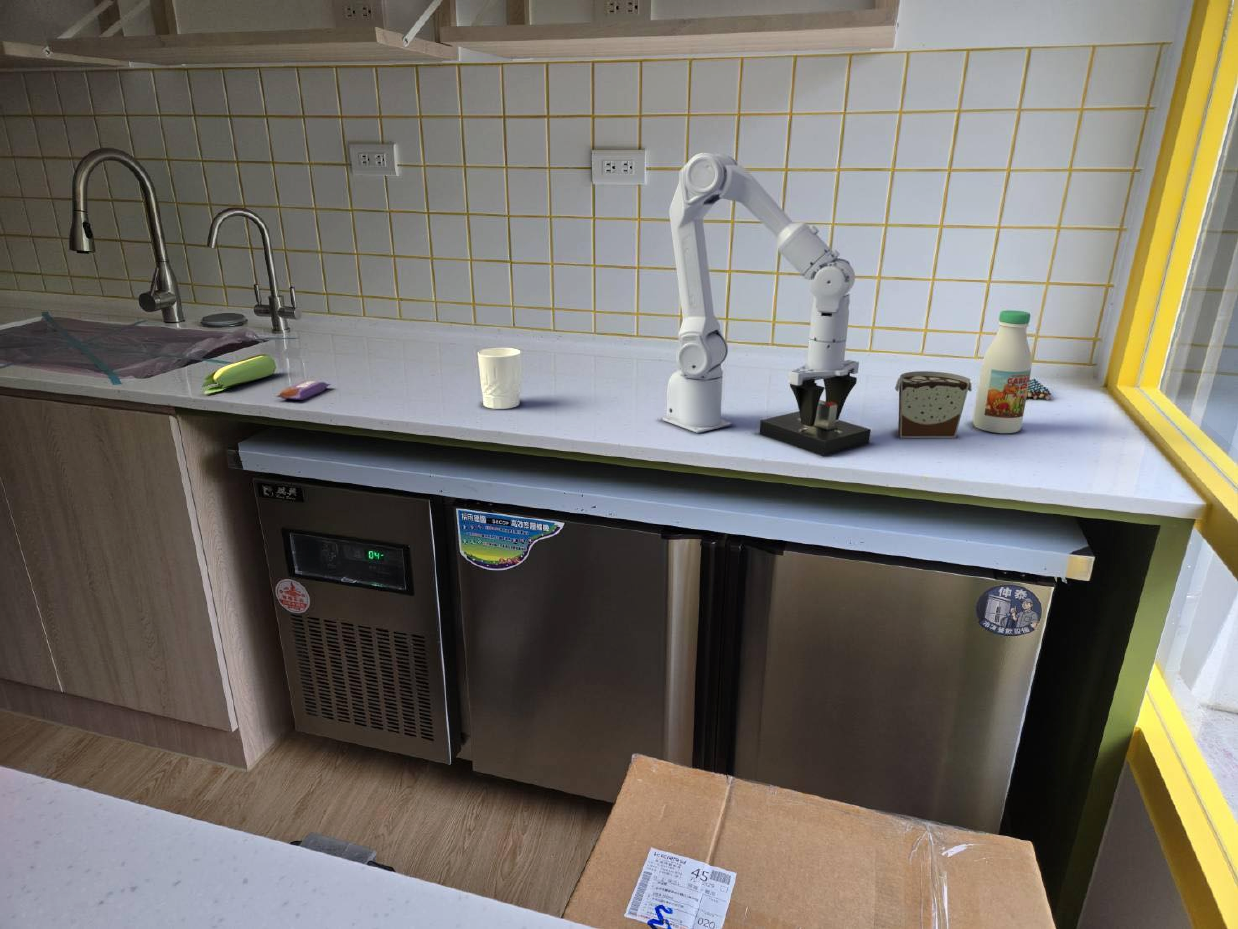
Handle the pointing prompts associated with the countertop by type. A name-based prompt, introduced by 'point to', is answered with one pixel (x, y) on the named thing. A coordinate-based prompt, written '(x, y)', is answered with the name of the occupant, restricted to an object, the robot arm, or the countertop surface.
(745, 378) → the countertop surface
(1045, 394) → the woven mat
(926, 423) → the food container
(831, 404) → the grey upright block
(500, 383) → the white cup
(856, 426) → the panel
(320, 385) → the snack package
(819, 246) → the robot arm
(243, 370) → the edible corn
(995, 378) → the milk bottle
